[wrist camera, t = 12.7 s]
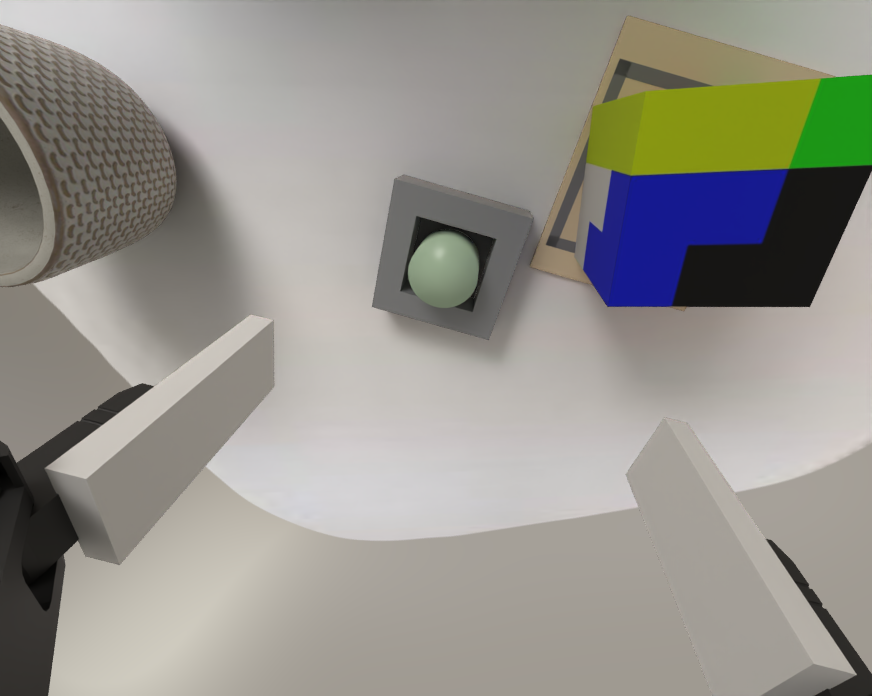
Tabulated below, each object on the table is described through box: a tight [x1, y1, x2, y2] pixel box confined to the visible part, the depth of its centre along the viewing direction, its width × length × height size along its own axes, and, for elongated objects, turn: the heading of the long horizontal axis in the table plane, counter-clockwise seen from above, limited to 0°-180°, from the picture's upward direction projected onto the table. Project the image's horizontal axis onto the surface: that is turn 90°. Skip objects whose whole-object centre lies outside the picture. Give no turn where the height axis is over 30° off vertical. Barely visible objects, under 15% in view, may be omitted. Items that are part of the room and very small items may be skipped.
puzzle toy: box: [574, 75, 872, 307], centre depth 22 cm, size 10×10×10 cm
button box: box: [372, 175, 534, 340], centre depth 30 cm, size 10×10×3 cm
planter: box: [0, 24, 176, 287], centre depth 25 cm, size 14×14×13 cm
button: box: [408, 229, 480, 308], centre depth 28 cm, size 5×5×4 cm
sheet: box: [530, 16, 836, 311], centre depth 27 cm, size 16×13×1 cm
